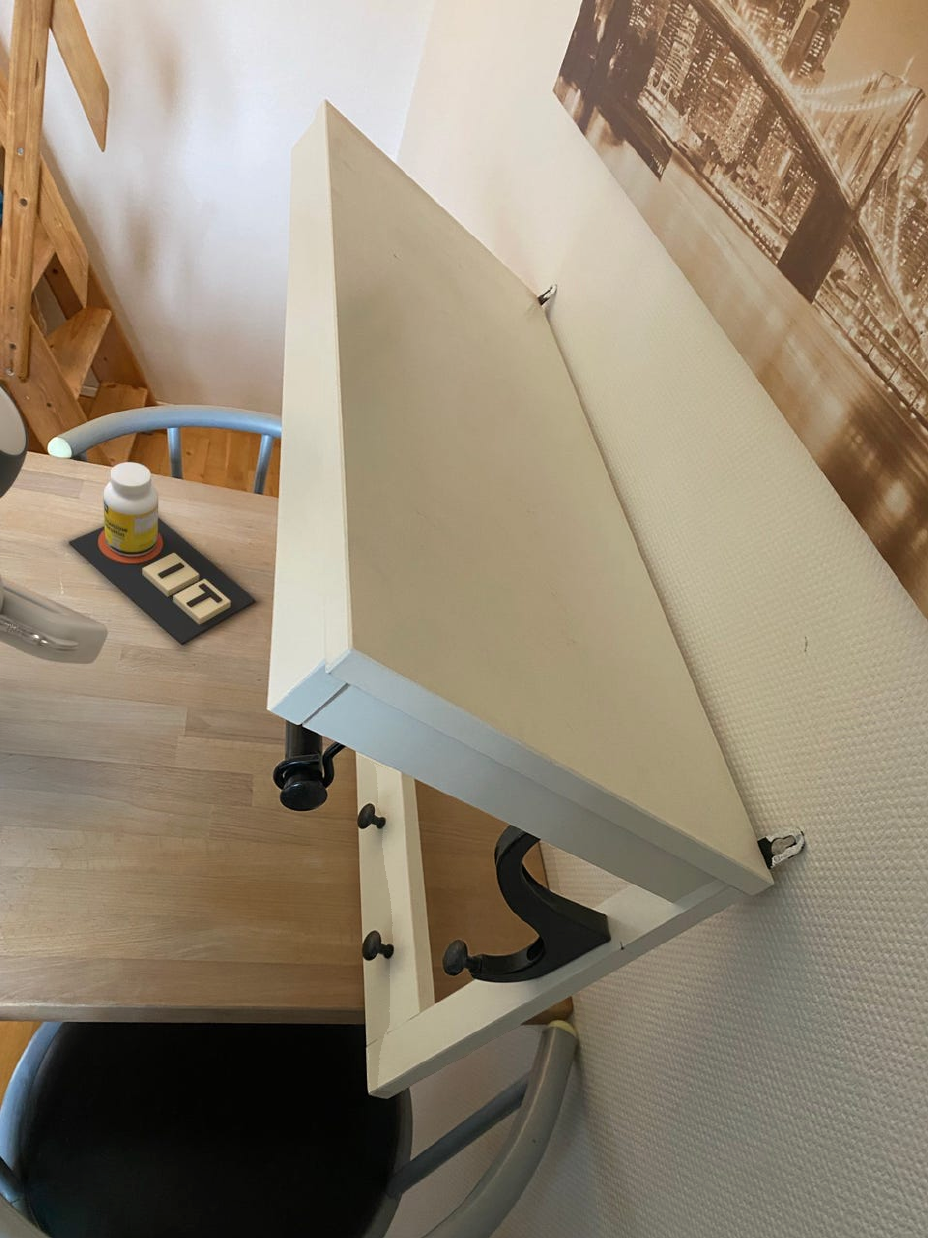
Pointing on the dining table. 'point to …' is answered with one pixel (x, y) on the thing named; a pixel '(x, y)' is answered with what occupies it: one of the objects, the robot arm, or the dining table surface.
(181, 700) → the dining table surface
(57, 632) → the robot arm
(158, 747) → the dining table surface
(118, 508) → the pill bottle
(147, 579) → the letter mat
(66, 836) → the dining table surface
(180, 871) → the dining table surface
